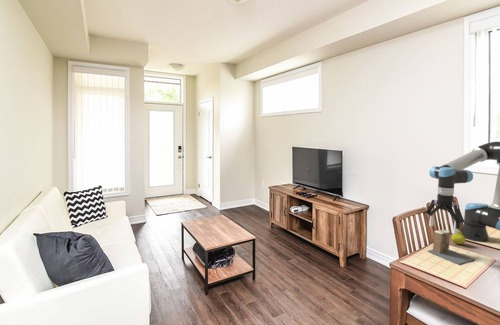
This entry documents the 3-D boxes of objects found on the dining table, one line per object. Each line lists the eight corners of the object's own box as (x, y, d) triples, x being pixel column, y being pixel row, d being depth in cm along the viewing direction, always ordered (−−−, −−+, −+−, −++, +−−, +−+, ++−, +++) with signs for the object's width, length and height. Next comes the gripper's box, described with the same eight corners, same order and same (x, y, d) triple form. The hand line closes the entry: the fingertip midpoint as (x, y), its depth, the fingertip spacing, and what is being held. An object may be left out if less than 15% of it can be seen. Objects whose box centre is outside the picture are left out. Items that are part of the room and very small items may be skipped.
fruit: (466, 244, 170) (468, 226, 169) (462, 247, 167) (464, 228, 165) (454, 240, 176) (455, 223, 175) (449, 243, 173) (450, 225, 171)
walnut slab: (441, 248, 164) (443, 229, 162) (448, 251, 160) (450, 231, 159) (432, 250, 161) (434, 231, 159) (439, 253, 157) (441, 233, 155)
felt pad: (442, 247, 166) (442, 246, 166) (474, 260, 150) (474, 259, 150) (427, 251, 160) (427, 250, 160) (458, 264, 145) (458, 263, 145)
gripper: (420, 190, 166) (418, 223, 169) (465, 200, 143) (462, 238, 146) (428, 189, 169) (426, 222, 172) (474, 198, 146) (470, 236, 149)
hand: (442, 229), depth 159 cm, fingers open, 13 cm apart
